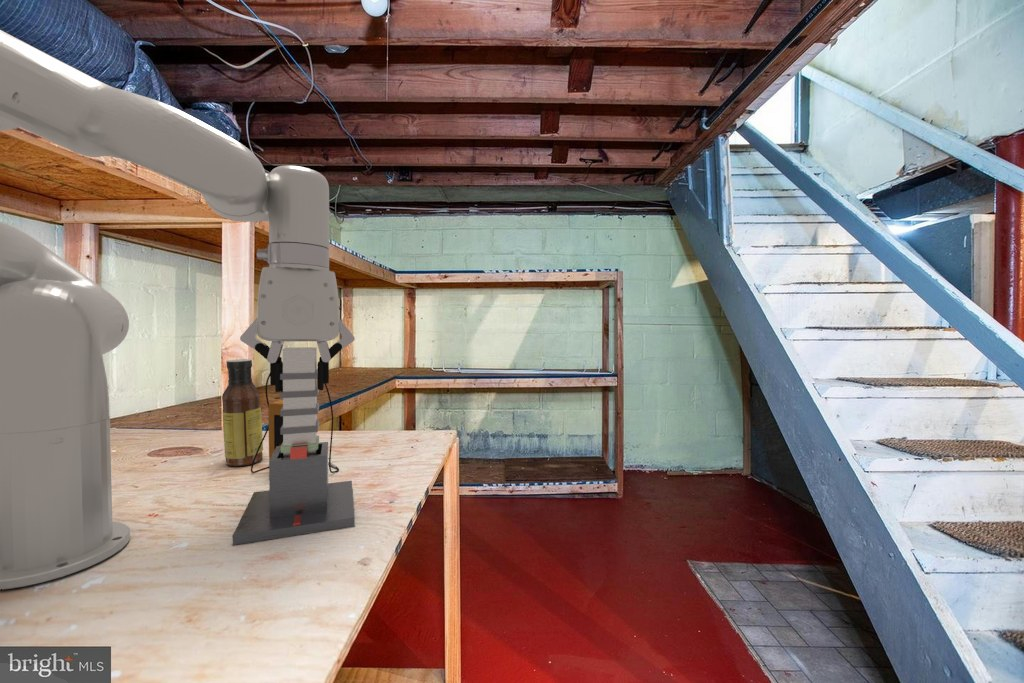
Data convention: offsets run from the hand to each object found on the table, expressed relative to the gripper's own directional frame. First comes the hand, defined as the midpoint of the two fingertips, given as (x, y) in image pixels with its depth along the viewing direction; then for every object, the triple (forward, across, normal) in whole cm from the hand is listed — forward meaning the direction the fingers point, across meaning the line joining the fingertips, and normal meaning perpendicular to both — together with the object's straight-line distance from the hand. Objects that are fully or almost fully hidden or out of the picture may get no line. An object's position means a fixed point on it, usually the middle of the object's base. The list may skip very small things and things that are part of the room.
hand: (300, 388), depth 60 cm
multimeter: (+18, -1, +20) cm, 27 cm away
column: (+10, 0, 0) cm, 10 cm away
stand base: (+18, 0, 0) cm, 18 cm away
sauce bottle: (+18, -12, +27) cm, 35 cm away
